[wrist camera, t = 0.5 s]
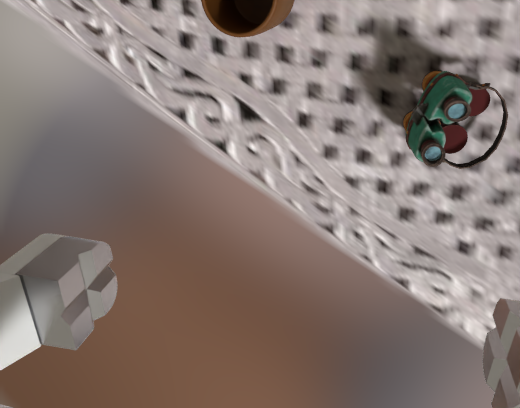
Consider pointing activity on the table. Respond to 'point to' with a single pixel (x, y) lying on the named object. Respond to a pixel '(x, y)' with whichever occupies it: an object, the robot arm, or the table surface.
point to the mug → (246, 15)
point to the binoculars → (447, 118)
